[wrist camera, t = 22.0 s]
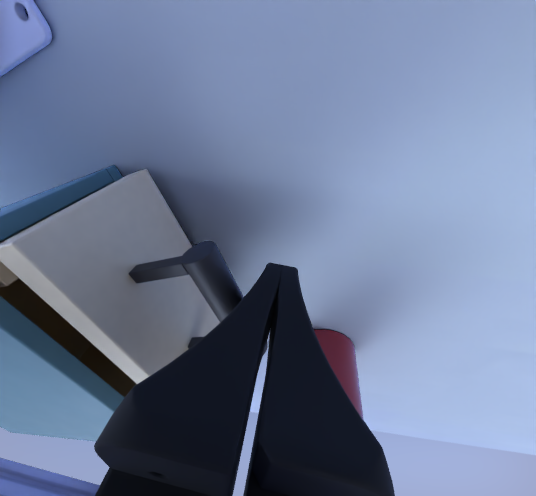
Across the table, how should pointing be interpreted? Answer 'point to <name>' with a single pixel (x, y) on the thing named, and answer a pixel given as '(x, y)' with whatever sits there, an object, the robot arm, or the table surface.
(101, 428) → the cabinet
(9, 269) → the drawer
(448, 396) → the table surface
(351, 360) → the tea tin
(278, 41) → the table surface
